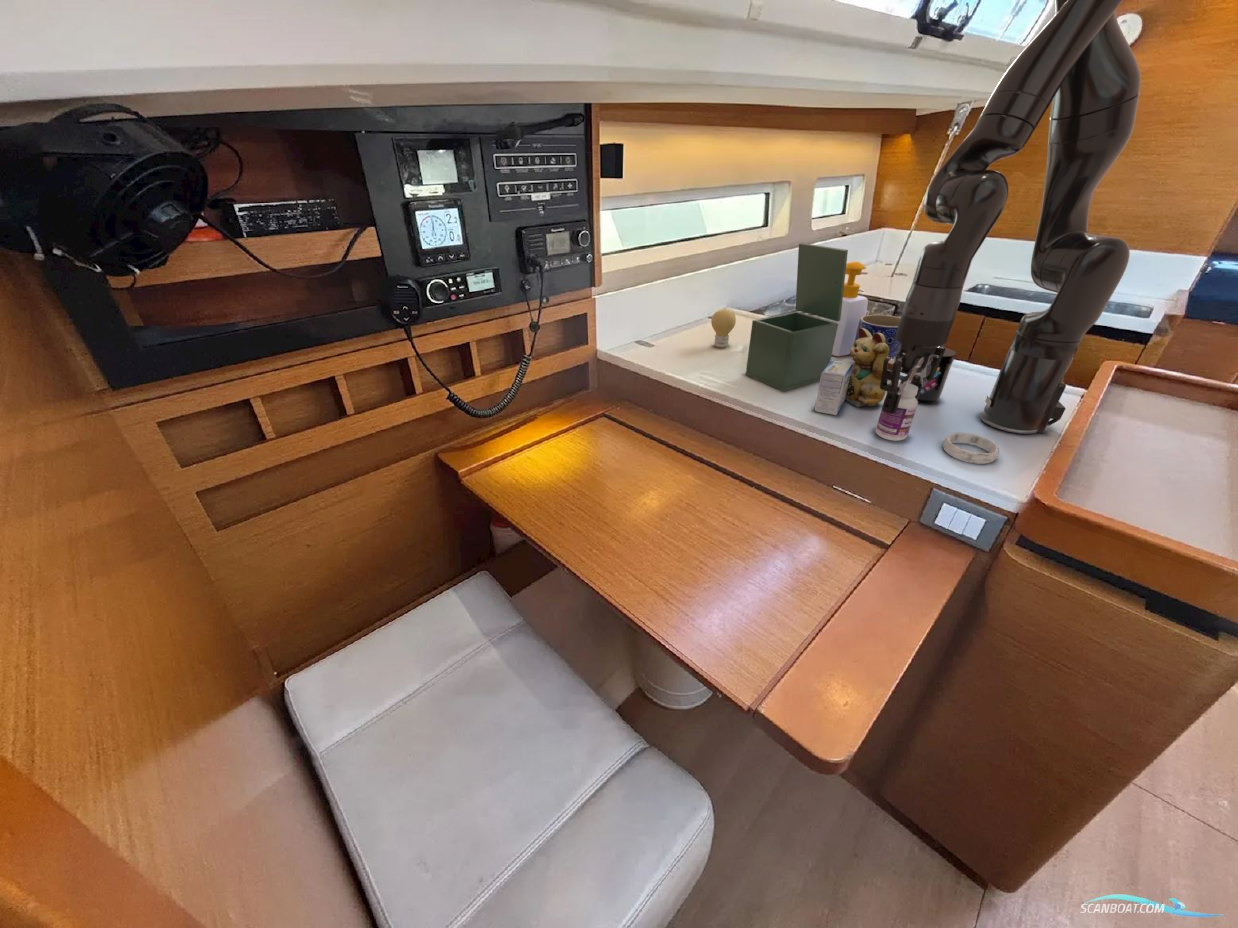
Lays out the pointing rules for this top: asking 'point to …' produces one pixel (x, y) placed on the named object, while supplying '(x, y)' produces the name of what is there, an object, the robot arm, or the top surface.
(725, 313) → the light bulb
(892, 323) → the planter
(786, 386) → the tin
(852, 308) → the soap bottle
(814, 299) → the green square lid
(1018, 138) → the robot arm
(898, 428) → the pill bottle
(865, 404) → the decorative figurine
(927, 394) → the supplement container
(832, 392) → the medicine box
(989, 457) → the ring
